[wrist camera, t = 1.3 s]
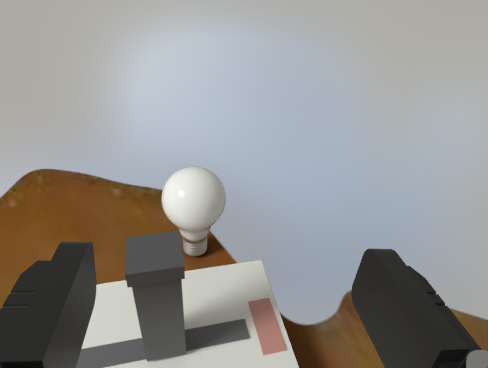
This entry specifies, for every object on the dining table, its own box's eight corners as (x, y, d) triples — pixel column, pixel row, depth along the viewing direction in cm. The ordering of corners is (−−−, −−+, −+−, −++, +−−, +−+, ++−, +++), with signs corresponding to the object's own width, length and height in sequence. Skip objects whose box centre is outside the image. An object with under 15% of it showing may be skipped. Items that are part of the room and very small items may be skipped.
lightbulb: (231, 264, 40) (237, 186, 33) (175, 280, 38) (168, 200, 31) (212, 225, 45) (213, 149, 38) (161, 238, 42) (152, 160, 36)
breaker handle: (184, 321, 31) (179, 230, 24) (189, 355, 28) (184, 266, 22) (143, 328, 30) (125, 237, 23) (144, 364, 28) (125, 274, 21)
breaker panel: (258, 278, 39) (261, 259, 37) (306, 424, 28) (313, 407, 26) (54, 311, 34) (45, 291, 32) (21, 499, 24) (4, 486, 22)
